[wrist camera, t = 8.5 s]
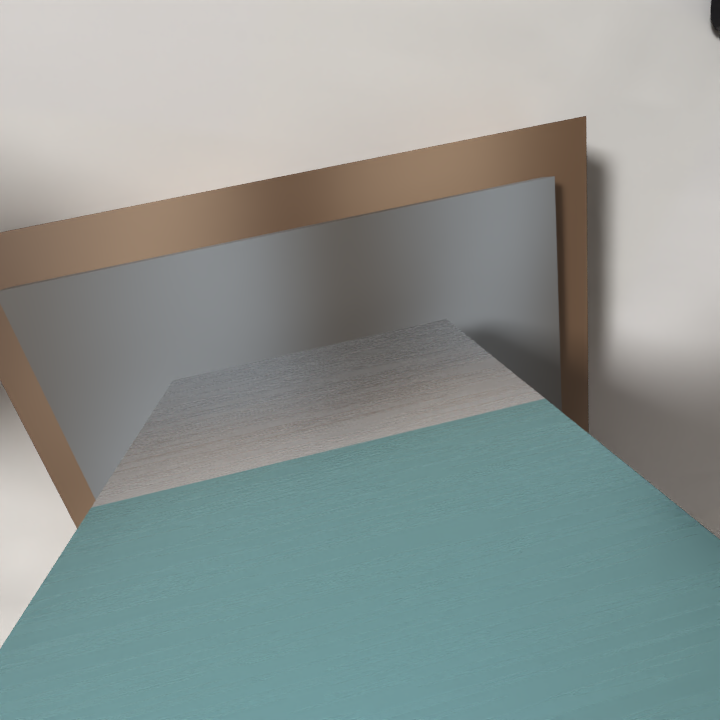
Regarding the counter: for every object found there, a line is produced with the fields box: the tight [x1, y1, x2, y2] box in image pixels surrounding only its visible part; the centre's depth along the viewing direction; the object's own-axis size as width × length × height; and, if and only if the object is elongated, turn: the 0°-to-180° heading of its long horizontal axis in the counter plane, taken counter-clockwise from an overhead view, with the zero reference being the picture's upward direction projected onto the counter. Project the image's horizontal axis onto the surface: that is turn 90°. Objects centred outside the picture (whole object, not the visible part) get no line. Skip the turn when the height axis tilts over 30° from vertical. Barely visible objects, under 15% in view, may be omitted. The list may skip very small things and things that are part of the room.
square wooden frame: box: [0, 116, 588, 529], centre depth 12 cm, size 13×13×2 cm
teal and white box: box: [0, 319, 720, 720], centre depth 6 cm, size 7×5×7 cm
